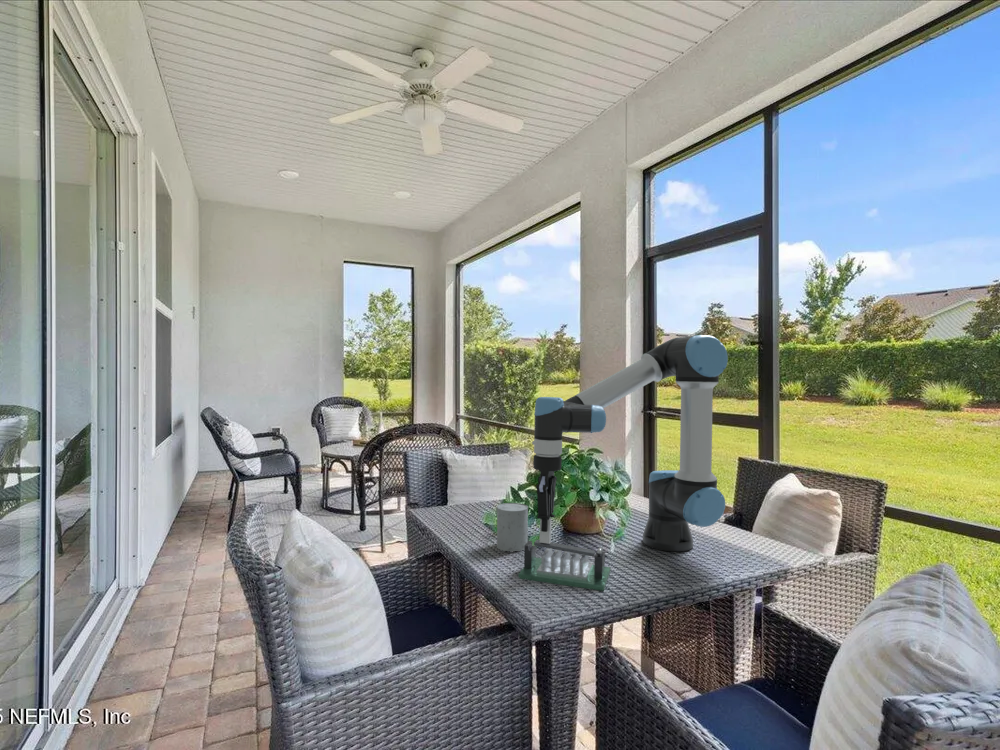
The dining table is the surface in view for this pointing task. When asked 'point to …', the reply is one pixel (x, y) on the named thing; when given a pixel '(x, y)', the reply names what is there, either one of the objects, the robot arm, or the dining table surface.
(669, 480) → the robot arm
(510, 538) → the grey cylinder
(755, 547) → the dining table surface
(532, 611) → the dining table surface
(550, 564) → the heatsink board
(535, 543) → the grey hinged clamp bar
